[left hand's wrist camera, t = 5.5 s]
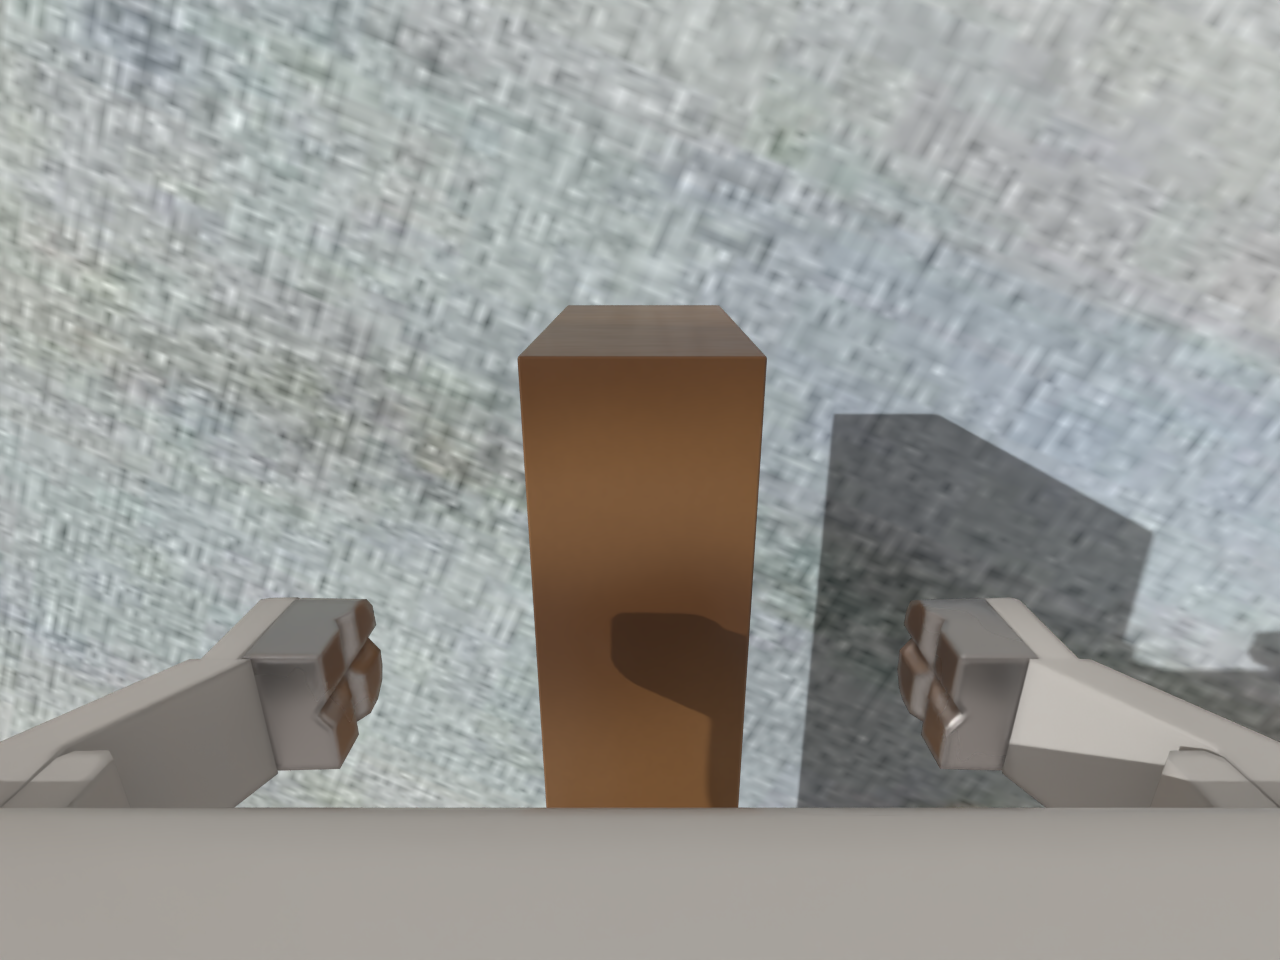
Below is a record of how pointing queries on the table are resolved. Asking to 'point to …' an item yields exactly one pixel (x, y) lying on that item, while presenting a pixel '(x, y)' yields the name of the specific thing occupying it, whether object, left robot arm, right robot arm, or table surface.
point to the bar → (642, 550)
